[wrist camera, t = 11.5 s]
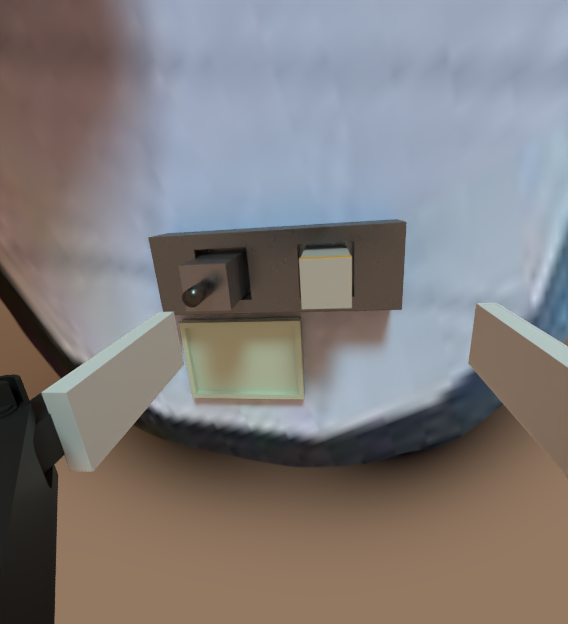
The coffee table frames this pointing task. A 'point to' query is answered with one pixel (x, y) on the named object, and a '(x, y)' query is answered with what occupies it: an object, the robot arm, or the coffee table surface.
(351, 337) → the coffee table surface
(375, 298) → the panel
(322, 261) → the plug
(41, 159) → the coffee table surface
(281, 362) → the tray
